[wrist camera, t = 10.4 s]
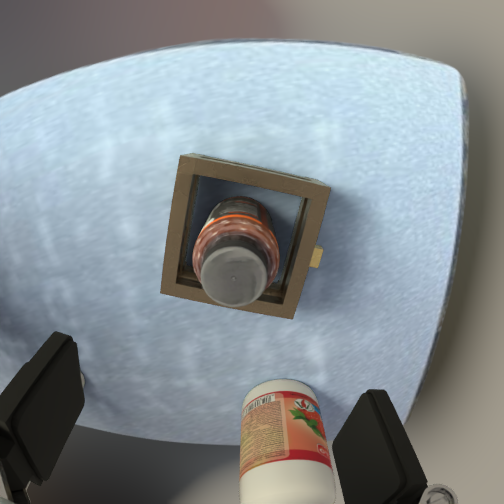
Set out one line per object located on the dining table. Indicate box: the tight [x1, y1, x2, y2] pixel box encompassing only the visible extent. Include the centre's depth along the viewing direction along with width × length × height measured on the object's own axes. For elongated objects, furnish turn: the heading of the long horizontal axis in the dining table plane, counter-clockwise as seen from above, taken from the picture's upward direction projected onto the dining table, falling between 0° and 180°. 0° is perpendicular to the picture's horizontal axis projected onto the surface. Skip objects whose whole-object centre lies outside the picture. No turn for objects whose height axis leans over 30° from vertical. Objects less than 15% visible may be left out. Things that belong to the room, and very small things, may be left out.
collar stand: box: [160, 153, 331, 319], centre depth 27 cm, size 12×11×5 cm
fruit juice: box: [239, 379, 336, 504], centre depth 24 cm, size 9×9×28 cm
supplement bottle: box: [192, 196, 280, 307], centre depth 24 cm, size 6×6×11 cm
